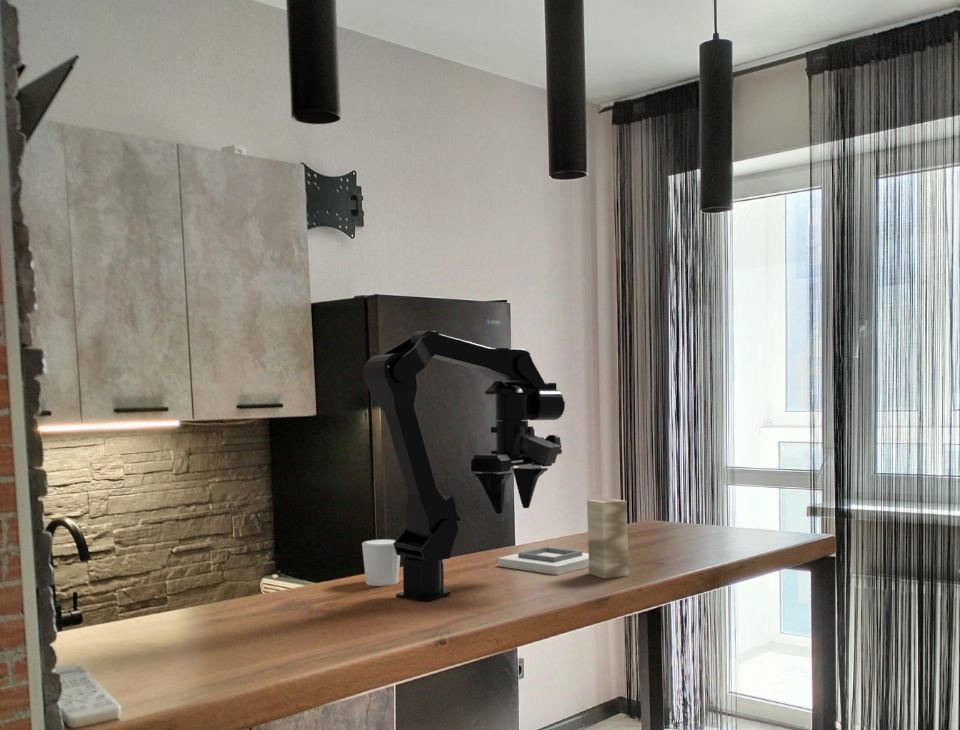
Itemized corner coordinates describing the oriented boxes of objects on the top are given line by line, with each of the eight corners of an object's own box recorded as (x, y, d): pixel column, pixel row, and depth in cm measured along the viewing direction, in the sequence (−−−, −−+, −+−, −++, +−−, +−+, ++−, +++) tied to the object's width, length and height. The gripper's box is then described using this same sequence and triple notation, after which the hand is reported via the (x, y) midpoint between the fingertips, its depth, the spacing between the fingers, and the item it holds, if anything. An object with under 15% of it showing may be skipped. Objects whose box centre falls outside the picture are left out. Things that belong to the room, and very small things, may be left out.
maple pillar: (604, 578, 146) (602, 502, 147) (589, 573, 151) (587, 500, 151) (628, 575, 148) (626, 500, 149) (612, 570, 153) (610, 498, 154)
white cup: (405, 578, 149) (405, 538, 150) (397, 586, 143) (397, 544, 143) (367, 578, 150) (366, 538, 150) (358, 586, 143) (357, 544, 144)
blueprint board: (557, 574, 150) (557, 561, 150) (498, 566, 159) (498, 553, 159) (602, 563, 160) (602, 550, 160) (544, 555, 170) (543, 543, 170)
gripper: (525, 421, 136) (526, 519, 135) (577, 420, 152) (578, 507, 151) (467, 421, 142) (468, 515, 141) (523, 420, 158) (524, 504, 157)
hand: (512, 510), depth 147 cm, fingers open, 9 cm apart
